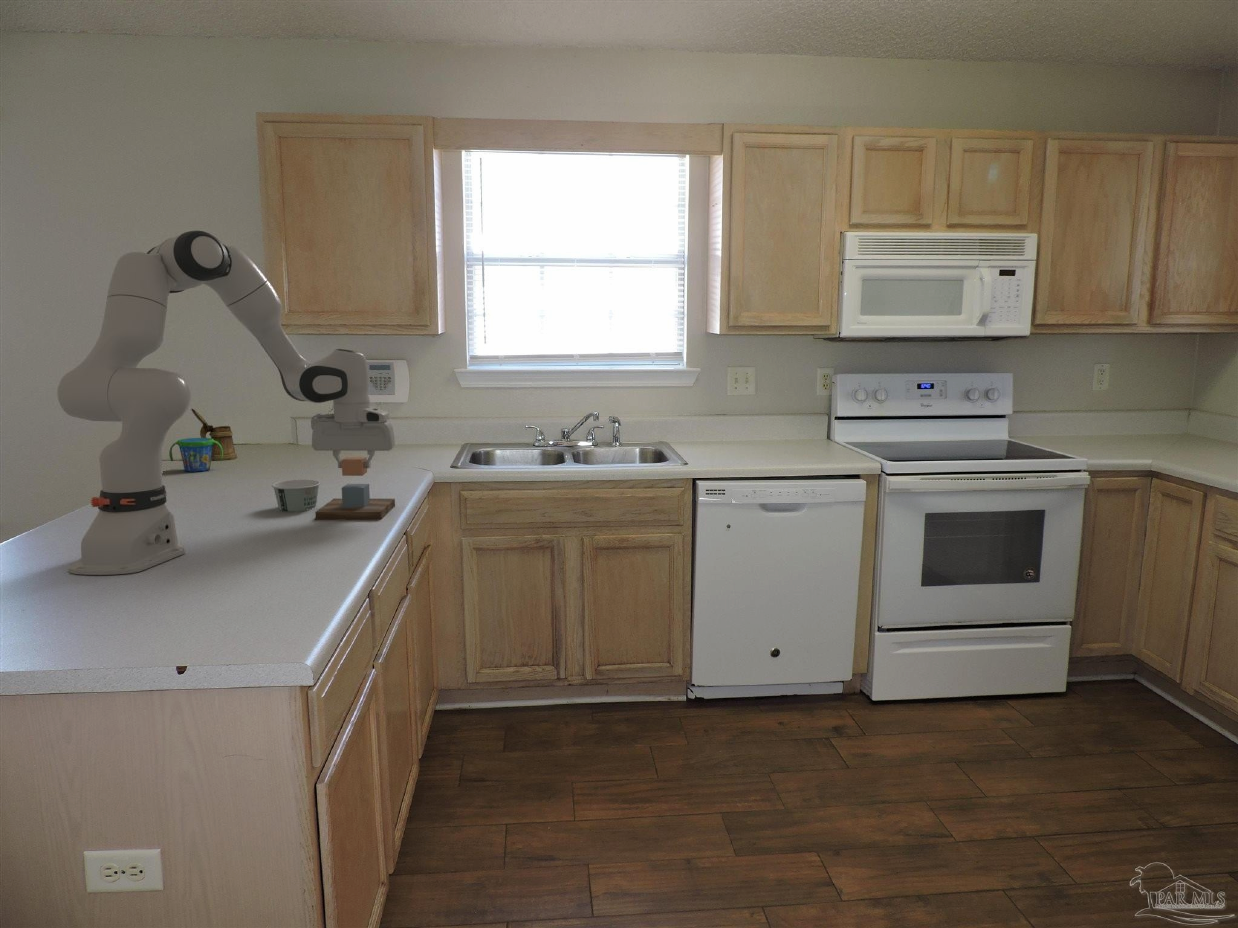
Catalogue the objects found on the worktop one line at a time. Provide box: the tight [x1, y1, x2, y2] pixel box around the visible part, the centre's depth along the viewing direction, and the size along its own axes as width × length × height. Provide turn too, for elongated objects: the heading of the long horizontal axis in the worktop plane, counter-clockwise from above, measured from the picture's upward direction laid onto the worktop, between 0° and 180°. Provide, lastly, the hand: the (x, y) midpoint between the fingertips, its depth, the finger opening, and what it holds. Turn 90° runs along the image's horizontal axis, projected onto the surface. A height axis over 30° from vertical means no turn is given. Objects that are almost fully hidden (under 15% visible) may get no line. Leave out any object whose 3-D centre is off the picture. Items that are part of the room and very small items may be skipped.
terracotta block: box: [341, 456, 368, 477], centre depth 222 cm, size 5×5×4 cm
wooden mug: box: [191, 408, 238, 461], centre depth 304 cm, size 9×14×18 cm, turn 111°
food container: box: [271, 479, 321, 512], centre depth 229 cm, size 12×12×6 cm
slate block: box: [341, 483, 371, 507], centre depth 223 cm, size 6×6×5 cm
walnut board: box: [314, 498, 396, 521], centre depth 224 cm, size 16×16×2 cm
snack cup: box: [168, 437, 223, 473], centre depth 282 cm, size 16×10×10 cm
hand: (354, 467), depth 222 cm, fingers closed on terracotta block, 5 cm apart
